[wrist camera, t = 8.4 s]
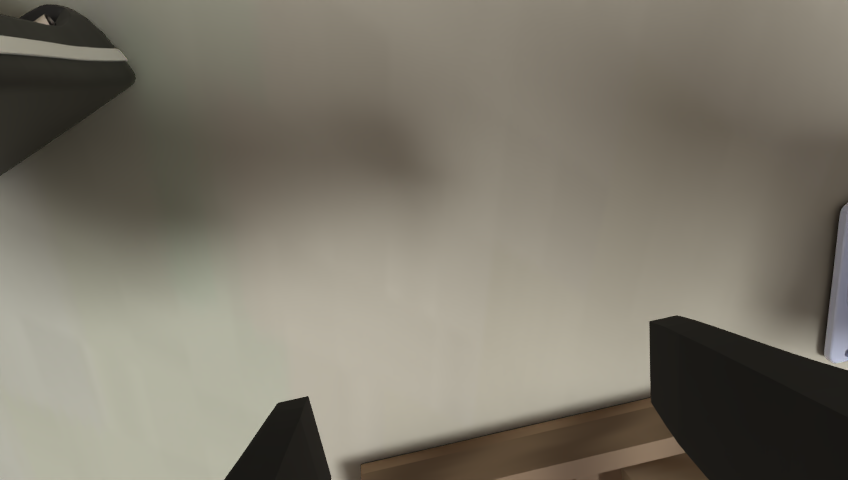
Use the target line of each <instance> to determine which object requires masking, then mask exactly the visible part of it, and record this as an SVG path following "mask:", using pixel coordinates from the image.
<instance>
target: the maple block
mask: <svg viewBox="0 0 848 480" xmlns="http://www.w3.org/2000/svg"><path fill="white" fill-rule="evenodd" d="M621 472H622V480H709V479H708V478H707V477H706V476H705V475H704V474H703V472H702V471H701V470H700V469H699V468H698V467H697V465H696V464H695V463H694V462H693V461H692V460H691V458H690V457H689V456H688V455H687V454H686V453H682V454H678V455H674V456H670V457H665V458H661V459H657V460H653V461H649V462H645V463H640V464H636V465H632V466H628V467H624V468H621Z"/></svg>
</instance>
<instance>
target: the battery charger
mask: <svg viewBox="0 0 848 480" xmlns="http://www.w3.org/2000/svg"><path fill="white" fill-rule="evenodd" d="M127 61H128V60H127V58H126V57H125V56H124V54H123V53H122V52H121V51H120V50H119V49H115V48H114V46H113V45H112V44H111V43H110V41H109V40H108V39H107V38H106V36H105V35H104V34H103V33H102V32H101V31H100V30H99V29H98V28H97V27H95V26H94V25H93V24H92V23H91V22H90V21H89V20H88V19H86V18H85V17H83V16H82V15H80V14H79V13H77V12H75V11H74V10H72V9H69V8H67V7H63V6H58V5H43V6H40V7H38V8H36V9H34V10H32V11H30V12H28V13H26V14H25V15H23V16H22V17H20V18H15V17H10V16H5V15H0V175H2V174H3V173H5V172H6V171H8V170H9V169H11V168H12V167H14V166H15V165H17V164H18V163H20V162H21V161H23V160H24V159H26V158H27V157H28V156H30V155H31V154H33V153H34V152H36V151H37V150H39V149H40V148H42V147H43V146H45V145H46V144H48V143H49V142H51V141H52V140H53V139H55V138H56V137H58V136H59V135H61V134H62V133H64V132H65V131H67V130H68V129H70V128H71V127H72V126H74V125H75V124H77V123H78V122H80V121H81V120H83V119H84V118H86V117H87V116H88V115H90V114H91V113H93V112H94V111H96V110H97V109H99V108H100V107H102V106H103V105H104V104H106V103H107V102H109V101H110V100H112V99H113V98H115V97H116V96H117V95H119V94H120V93H122V92H123V91H125V90H126V89H127V88H129V87H130V86H131V85H132V84H133V83H134V82H135V79H136V78H135V74H134V72H133V71H132V69H131V68H130V66H129V65H128V64H127Z"/></svg>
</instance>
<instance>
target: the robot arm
mask: <svg viewBox="0 0 848 480" xmlns="http://www.w3.org/2000/svg"><path fill="white" fill-rule="evenodd" d="M824 356H825V358H826V359H828V360H829V361H831V362H833V363H840V362H844V361H848V203H847V204H845V205H844V206H843V208H842V209H841V212H840V217H839V226H838V235H837V244H836V253H835V261H834V270H833V279H832V288H831V296H830V305H829V314H828V323H827V331H826V340H825V349H824ZM650 381H651V403H652V405H653V406H654V408H655V410H656V411H657V413H658V414H659V416H660V417H661V419H662V421H663V422H664V424H665V425H666V427H667V428H668V430H669V431H670V432H671V434H672V435H673V437H674V438H675V440H676V441H677V443H678V444H679V445H680V446H681V448H682V449H683V450H684V451H685V452H686V454H687V455H688V456H689V457H690V458H691V460H692V461H693V462H694V463H695V464H696V465H697V467H698V468H699V469H700V470H701V471H702V472H703V474H704V475H705V476H706V477H707V478H708V479H709V480H848V370H844V369H841V368H838V367H834V366H831V365H828V364H824V363H821V362H818V361H814V360H811V359H808V358H805V357H802V356H799V355H796V354H793V353H790V352H787V351H784V350H781V349H778V348H775V347H772V346H769V345H766V344H763V343H760V342H757V341H754V340H751V339H749V338H746V337H743V336H740V335H737V334H734V333H731V332H728V331H726V330H723V329H720V328H717V327H714V326H711V325H708V324H705V323H702V322H699V321H695V320H692V319H689V318H685V317H681V316H672V317H668V318H663V319H659V320H654V321H650ZM224 480H331V475H330V471H329V468H328V464H327V461H326V457H325V454H324V450H323V446H322V443H321V439H320V436H319V432H318V429H317V425H316V422H315V418H314V415H313V411H312V408H311V404H310V401H309V397H308V396H307V397H303V398H298V399H294V400H289V401H285V402H280V403H278V404H277V405H276V406H275V408H274V409H273V411H272V412H271V413H270V415H269V416H268V418H267V419H266V421H265V422H264V423H263V425H262V426H261V428H260V429H259V431H258V432H257V434H256V435H255V437H254V438H253V440H252V441H251V443H250V444H249V445H248V447H247V448H246V450H245V451H244V453H243V454H242V456H241V457H240V458H239V460H238V461H237V463H236V464H235V465H234V467H233V468H232V470H231V471H230V472H229V474H228V475H227V477H226V478H225V479H224Z"/></svg>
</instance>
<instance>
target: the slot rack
mask: <svg viewBox="0 0 848 480" xmlns="http://www.w3.org/2000/svg"><path fill="white" fill-rule="evenodd" d="M682 453H686V452H685V451H684V450H683V449H682V448H681V446H680V445H679V444H678V443H677V441H676V440H675V438H674V437H673V435H672V434H671V432H670V431H669V430H668V428H667V427H666V425H665V424H664V422H663V421H662V419H661V417H660V416H659V414H658V413H657V411H656V410H655V408H654V406H653V405H652V403H651V398H647V399H643V400H639V401H634V402H630V403H626V404H621V405H617V406H613V407H608V408H604V409H600V410H595V411H591V412H587V413H582V414H578V415H574V416H569V417H565V418H561V419H556V420H552V421H548V422H543V423H539V424H535V425H530V426H526V427H522V428H517V429H513V430H509V431H504V432H500V433H496V434H491V435H487V436H483V437H478V438H474V439H470V440H465V441H461V442H456V443H452V444H448V445H443V446H439V447H435V448H430V449H426V450H422V451H417V452H413V453H409V454H404V455H400V456H396V457H391V458H387V459H383V460H378V461H374V462H370V463H365V464H361V480H622V472H621V468H624V467H628V466H632V465H636V464H640V463H645V462H649V461H653V460H657V459H661V458H665V457H670V456H674V455H678V454H682Z"/></svg>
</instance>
